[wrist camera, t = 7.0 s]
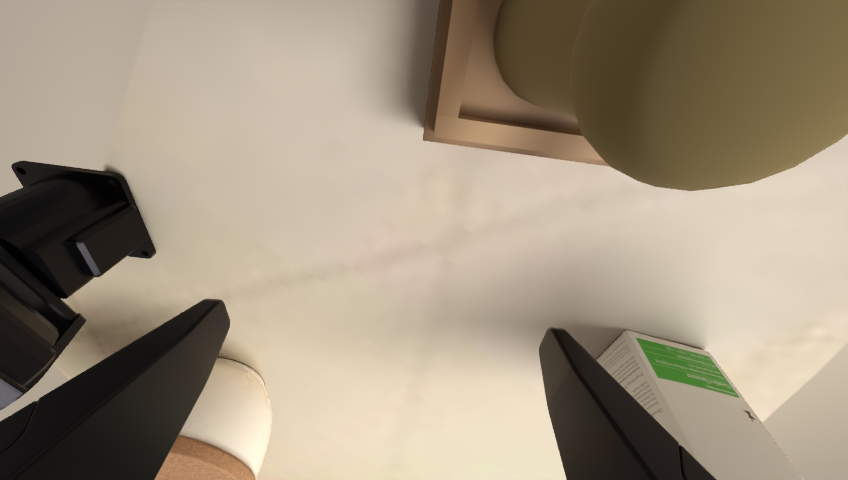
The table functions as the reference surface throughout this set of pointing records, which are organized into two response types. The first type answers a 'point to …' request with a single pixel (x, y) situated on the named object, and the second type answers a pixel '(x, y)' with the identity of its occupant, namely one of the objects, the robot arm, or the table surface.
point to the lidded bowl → (223, 428)
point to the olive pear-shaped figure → (685, 81)
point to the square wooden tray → (489, 94)
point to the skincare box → (697, 407)
